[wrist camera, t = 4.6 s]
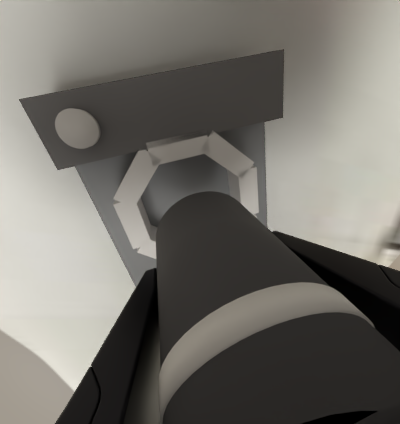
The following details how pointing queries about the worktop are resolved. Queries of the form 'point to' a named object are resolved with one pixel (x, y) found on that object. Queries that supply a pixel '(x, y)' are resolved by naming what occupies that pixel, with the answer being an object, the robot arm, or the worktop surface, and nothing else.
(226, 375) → the lens
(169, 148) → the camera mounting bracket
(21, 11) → the worktop surface
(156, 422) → the robot arm
